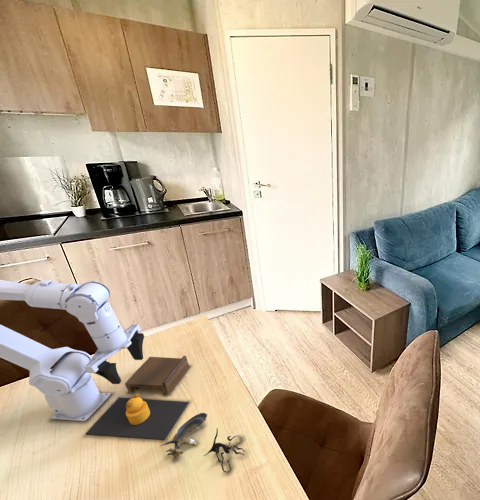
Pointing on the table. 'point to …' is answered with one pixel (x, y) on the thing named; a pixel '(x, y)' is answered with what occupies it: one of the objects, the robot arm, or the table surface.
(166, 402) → the mat
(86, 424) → the table surface
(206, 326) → the table surface
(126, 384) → the shelf
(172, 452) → the eagle figurine
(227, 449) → the creature
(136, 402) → the orange tiered figure
